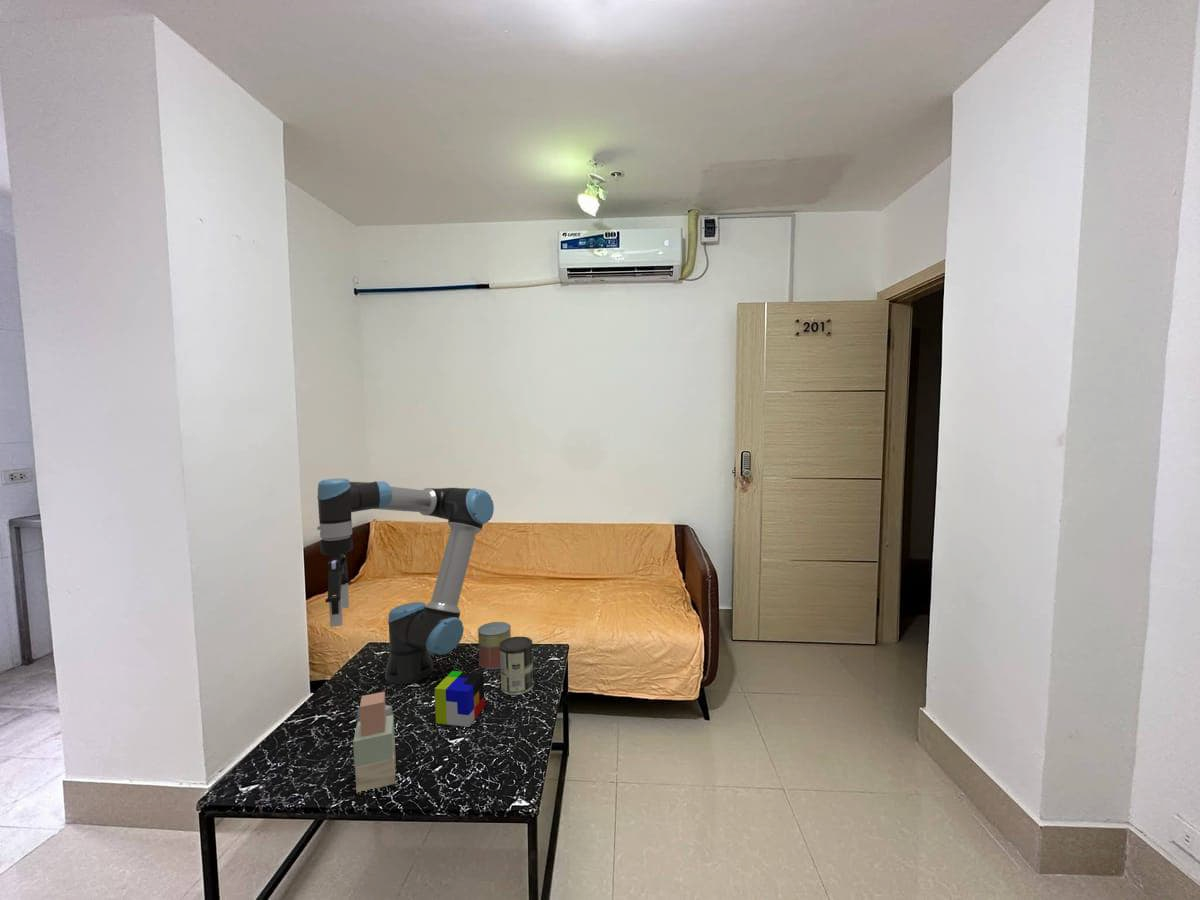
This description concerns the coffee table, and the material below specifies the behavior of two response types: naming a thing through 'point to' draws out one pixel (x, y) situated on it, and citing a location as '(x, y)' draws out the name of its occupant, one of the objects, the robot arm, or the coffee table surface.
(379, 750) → the sage block
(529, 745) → the coffee table surface
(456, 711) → the puzzle toy
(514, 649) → the coffee can
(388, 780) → the beech block
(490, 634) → the canned food
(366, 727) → the terracotta block
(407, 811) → the coffee table surface
